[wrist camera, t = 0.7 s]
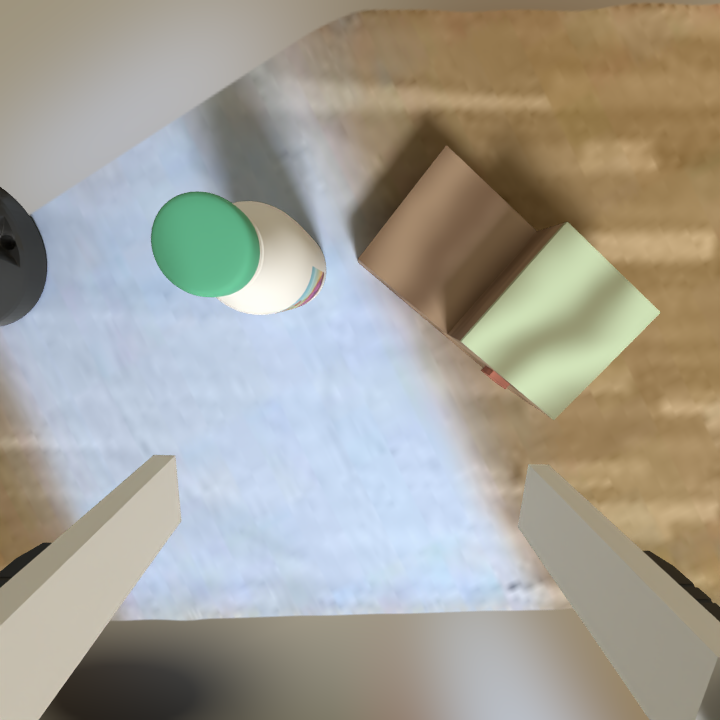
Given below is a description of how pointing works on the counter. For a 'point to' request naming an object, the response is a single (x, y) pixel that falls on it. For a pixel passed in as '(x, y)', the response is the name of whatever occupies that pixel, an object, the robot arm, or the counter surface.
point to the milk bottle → (237, 253)
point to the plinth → (506, 286)
